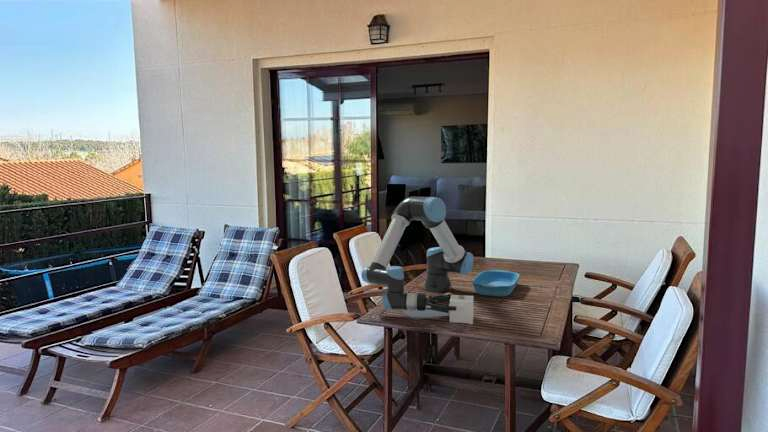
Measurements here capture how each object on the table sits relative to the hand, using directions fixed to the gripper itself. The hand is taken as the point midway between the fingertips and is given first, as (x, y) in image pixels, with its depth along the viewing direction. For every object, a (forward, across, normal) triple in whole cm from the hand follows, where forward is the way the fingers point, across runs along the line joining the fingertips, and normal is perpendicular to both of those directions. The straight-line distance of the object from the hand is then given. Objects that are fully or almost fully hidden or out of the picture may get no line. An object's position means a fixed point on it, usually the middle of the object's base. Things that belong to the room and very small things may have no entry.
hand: (464, 303), depth 226 cm
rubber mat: (-18, -7, -8) cm, 21 cm away
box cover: (-1, 0, -8) cm, 8 cm away
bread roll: (-8, -23, -8) cm, 25 cm away
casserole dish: (+15, -57, -8) cm, 59 cm away
